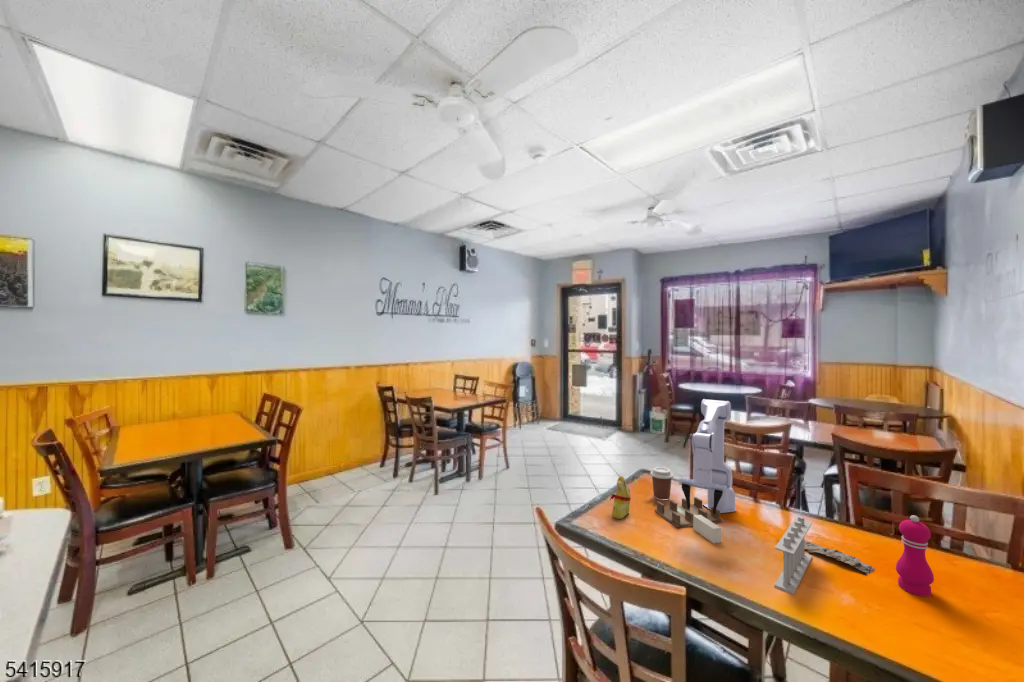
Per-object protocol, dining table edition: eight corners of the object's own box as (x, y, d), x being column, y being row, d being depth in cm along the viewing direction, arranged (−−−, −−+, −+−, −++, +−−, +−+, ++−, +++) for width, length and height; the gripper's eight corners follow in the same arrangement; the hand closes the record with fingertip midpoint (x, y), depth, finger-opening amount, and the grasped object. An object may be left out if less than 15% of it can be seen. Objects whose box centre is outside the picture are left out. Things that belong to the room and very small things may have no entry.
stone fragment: (872, 581, 112) (876, 566, 119) (873, 571, 112) (876, 557, 119) (769, 545, 130) (777, 535, 137) (769, 537, 130) (777, 527, 137)
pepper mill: (938, 601, 102) (938, 524, 101) (900, 591, 105) (900, 517, 105) (928, 586, 108) (928, 513, 108) (892, 577, 112) (892, 507, 111)
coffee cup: (652, 501, 164) (652, 472, 164) (648, 492, 173) (648, 465, 173) (675, 502, 163) (675, 473, 163) (670, 494, 172) (670, 466, 172)
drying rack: (696, 506, 159) (696, 496, 159) (722, 522, 146) (722, 511, 146) (654, 511, 155) (654, 501, 155) (677, 527, 141) (677, 516, 141)
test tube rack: (793, 595, 105) (793, 545, 104) (774, 587, 108) (774, 539, 108) (812, 558, 122) (812, 515, 122) (794, 552, 125) (794, 511, 125)
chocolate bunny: (634, 511, 155) (633, 473, 155) (622, 521, 146) (622, 481, 146) (617, 507, 159) (617, 469, 159) (605, 516, 151) (605, 477, 150)
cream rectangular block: (700, 528, 141) (700, 514, 141) (721, 542, 131) (721, 527, 131) (693, 529, 140) (693, 515, 140) (713, 543, 131) (713, 528, 131)
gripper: (677, 466, 134) (676, 508, 132) (726, 474, 126) (725, 518, 125) (680, 464, 140) (679, 503, 138) (727, 471, 132) (726, 513, 131)
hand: (701, 510), depth 132 cm, fingers open, 7 cm apart
